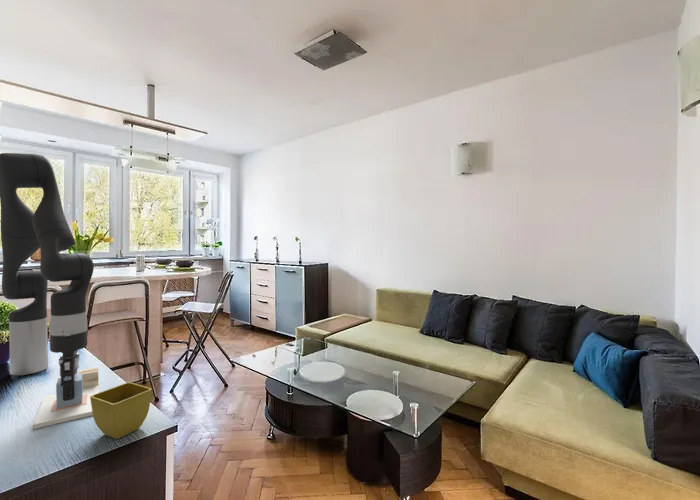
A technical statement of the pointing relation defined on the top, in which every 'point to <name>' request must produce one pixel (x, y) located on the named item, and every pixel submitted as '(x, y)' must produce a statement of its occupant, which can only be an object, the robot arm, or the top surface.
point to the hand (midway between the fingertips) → (70, 394)
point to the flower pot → (121, 409)
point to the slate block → (77, 387)
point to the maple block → (89, 377)
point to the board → (64, 409)
